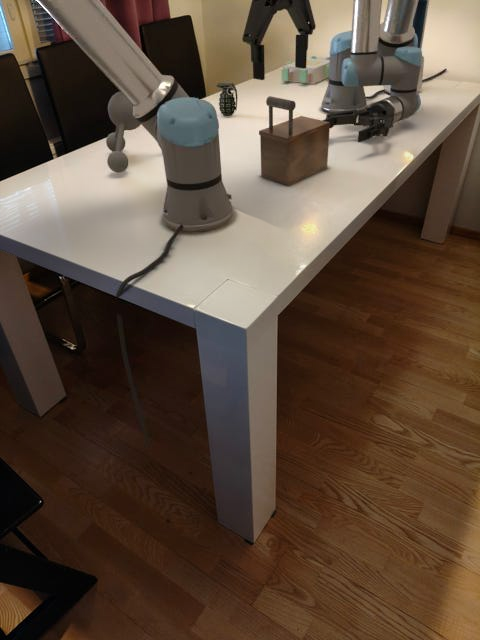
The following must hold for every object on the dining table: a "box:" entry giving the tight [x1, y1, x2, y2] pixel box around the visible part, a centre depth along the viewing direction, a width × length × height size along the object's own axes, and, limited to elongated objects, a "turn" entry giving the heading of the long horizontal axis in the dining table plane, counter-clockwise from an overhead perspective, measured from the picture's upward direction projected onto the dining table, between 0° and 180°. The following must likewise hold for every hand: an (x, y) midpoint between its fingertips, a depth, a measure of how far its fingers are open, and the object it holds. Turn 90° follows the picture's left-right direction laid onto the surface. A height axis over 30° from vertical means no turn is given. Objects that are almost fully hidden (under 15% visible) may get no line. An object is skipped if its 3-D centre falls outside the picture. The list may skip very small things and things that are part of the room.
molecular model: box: [105, 90, 142, 174], centre depth 130 cm, size 24×22×30 cm
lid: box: [258, 95, 330, 143], centre depth 116 cm, size 16×9×8 cm, turn 134°
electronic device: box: [382, 0, 430, 94], centre depth 174 cm, size 12×8×30 cm, turn 105°
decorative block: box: [281, 55, 330, 85], centre depth 206 cm, size 26×6×20 cm
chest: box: [259, 127, 331, 186], centre depth 122 cm, size 15×9×10 cm, turn 134°
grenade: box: [215, 82, 238, 117], centre depth 166 cm, size 7×6×10 cm
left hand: (280, 73), depth 108 cm, fingers open, 13 cm apart
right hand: (338, 132), depth 131 cm, fingers open, 13 cm apart
